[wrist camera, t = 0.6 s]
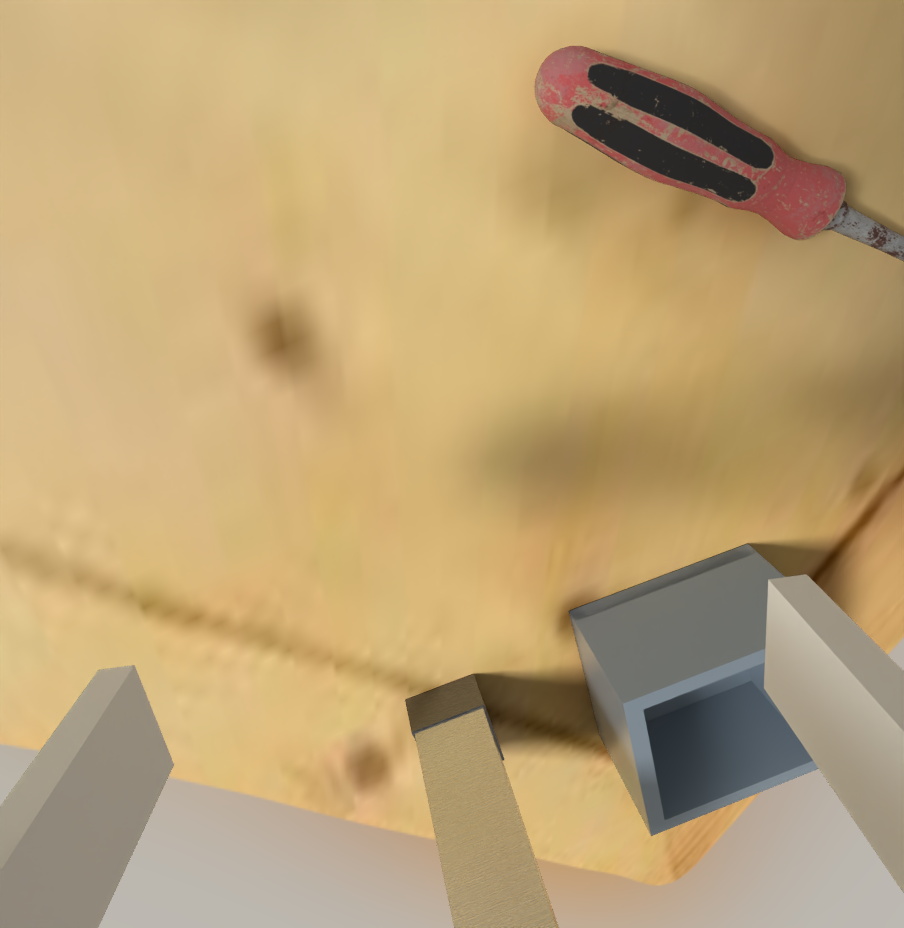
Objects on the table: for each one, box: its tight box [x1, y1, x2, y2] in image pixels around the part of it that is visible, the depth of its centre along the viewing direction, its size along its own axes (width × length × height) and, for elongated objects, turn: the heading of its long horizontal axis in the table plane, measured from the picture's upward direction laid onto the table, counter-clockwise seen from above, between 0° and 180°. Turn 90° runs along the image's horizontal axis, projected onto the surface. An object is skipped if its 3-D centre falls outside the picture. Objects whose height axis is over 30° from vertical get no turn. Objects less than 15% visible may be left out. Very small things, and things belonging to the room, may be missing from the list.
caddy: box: [569, 544, 819, 836], centre depth 32 cm, size 10×10×6 cm
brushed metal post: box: [405, 674, 559, 928], centre depth 26 cm, size 4×4×16 cm
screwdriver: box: [535, 46, 904, 261], centre depth 24 cm, size 25×3×3 cm, turn 70°
